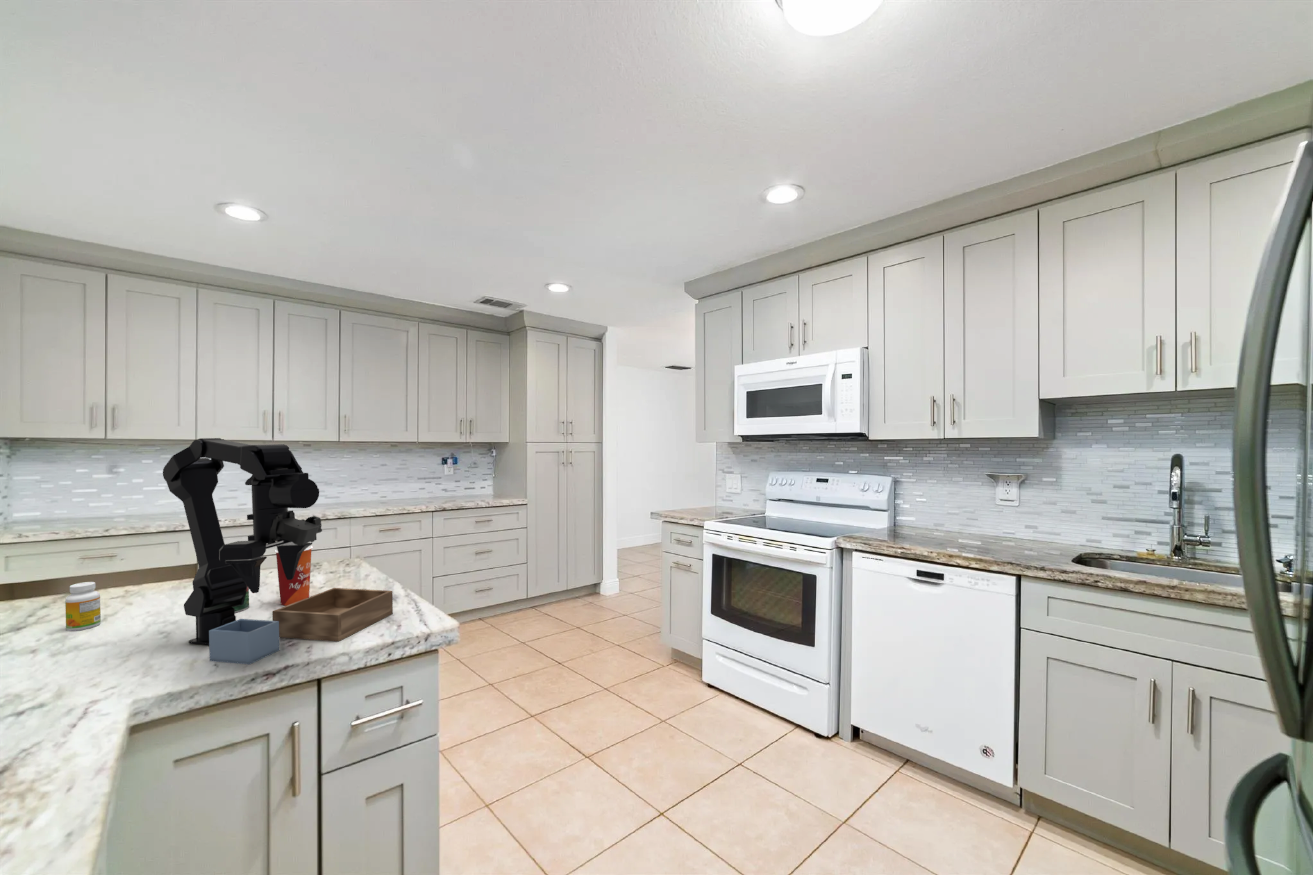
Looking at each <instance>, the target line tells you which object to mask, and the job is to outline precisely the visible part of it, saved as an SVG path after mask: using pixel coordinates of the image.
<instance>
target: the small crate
mask: <svg viewBox="0 0 1313 875" xmlns="http://www.w3.org/2000/svg"><path fill="white" fill-rule="evenodd" d="M208 647H209V662H216V663H217V662H219V663H228V664H229V663H230V664H240V665H241V664H242V665H243V664H244V665H251V664H254V663H255V662H257V661H259V660H262V659H263V658H266V657H269V656H270V655H272V654H275V653H277V652H279V651H280V637H279V621H273V620H267V619H264V620H263V619H250V618H239V619H236V621H233V622H231V623H228V624H225V625H223V626H220V627H217V628H215V629H212V630H209V645H208Z"/></svg>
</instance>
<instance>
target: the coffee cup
mask: <svg viewBox="0 0 1313 875" xmlns="http://www.w3.org/2000/svg"><path fill="white" fill-rule="evenodd" d="M308 543H312V542H308ZM278 546H279V545H278ZM275 547H276V548H275V550H274V553H275V557H276V566H277V579H278V591H279V599H280V605H281V606H283V607H285V606H287V605H290V604H293V603H295V602H298V601H300V600H303V599H306V598H308V597H310V586H311V568H312V567H311V566H312V565H311V564H312V549H313V548H314V546H313V545H310V546H309V547H307V548H306V549H305V550H304V551H303V552H302V554H301V557H300V559H299V562H298V565H297V569H296V572H295V575H294V578H293V579H292V580H287V579H286V576H285V573H284V570H283V567H282V563H281V560H280V556H279V553H278V549H277V546H275Z"/></svg>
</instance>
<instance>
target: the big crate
mask: <svg viewBox="0 0 1313 875" xmlns="http://www.w3.org/2000/svg"><path fill="white" fill-rule="evenodd" d="M393 599H394V598H393V590H384V589H383V590H382V589H381V590H380V589H366V588H365V589H364V588H363V589H362V588H347V587H346V588H345V587H342V588H341V587H332V588H329V589H327V590H325V591H322V592H319V593H317V594H314V595H311V596H309V597H308V598H306V599H303V600H300V601H298V602H295V603H293V604H290V605H287V606H283V607H279V608H277V609H274V610H272V611H271V612H272V621H279V638H285V639H297V640H310V641H311V640H313V641H314V640H315V641H327V642H341V641H342V640H344V639H346V638H349V637H350V636H351V635H354V634H356V633H358V632H360V631H362V630H363V629H366V628H367V627H370V626H372V625H374V624H376V623H377V622H379V621H381V620H384V619H385V618H387V617H390V616H391V615H393V613H394V609H393V608H394V606H393V604H394V603H393V602H394V601H393Z"/></svg>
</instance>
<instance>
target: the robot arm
mask: <svg viewBox="0 0 1313 875" xmlns="http://www.w3.org/2000/svg"><path fill="white" fill-rule="evenodd" d="M224 462H225V463H226V462H227V463H230V464H231V463H232V464H235V465H236V464H237V465H239V468H240V469H241V470H242V471H244V472H246V473H248V474H250V475H251V476H250V477H249V478H247V480H245V481H244V485H245V486H251V507H252V513H250V514H246V520H247V521H252V529H253V533H252V534H251V535H247V540H237V541H234V542H233V541H232V542H230V543H229V542H228V543H225V540H224V537H223V531H222V528H221V524H220V520H219V517H218V513H217V509H216V505H215V501H214V497H213V496H214V495H213V494H214V491H215V489H216V487H217V485H218V484H219V478H218V474H220V472H221V471H222V469H224V467H225V463H224ZM162 477H163V479H164V482H165V483H166V485H167V488H168V491H169V492H170V493H171V494H173V495H174V496H175V497H176V498H177V499H178V500H180V501H181V502H182V504H183V508H184V512H185V516H186V521H187V524H188V527H189V532H190V536H191V540H192V544H193V548H194V551H195V552H194V553H195V555H196V556H195V557H196V559H197V563H198V564H197V565H198V569H197V571H196V574H194V575H195V576H194V577H193V580H192V592H191V594H190V595H189V596H188V598H187V599H186V600H185V602H184V604H183V609H184V613H185V615H186V616H191V617H195V638H192V639H190V640H188V644H192V645H193V644H195V645H206V646H207V645H208V646H209V630H212V629H215V628H217V627H220V626H223V625H225V624H228V623H231V622H233V621H236V620H237V616H236V613H235V608H233V607H235V606H239V605H243V604H244V600H245V596H246V592H247V587H248V588H249V592H251V594H257V593H259V591H260V586H261V565H262V564H263V563H264V561H266V559H267V558H268V556H264V555H265V553H266V552H267V549H270V548H275V547H277V549H278V553H279V556H280V560H281V563H282V567H283V570H284V573H285V576H286V579H287V580H292V579H293V578H294V575H295V572H296V569H297V565H298V562H299V559H300V557H301V554H302V552H303V551H304V550H305V549H306V548H307V547H309V546H310V545H311V546H313V543H314V542H315V541H317V534H320V533H321V532H323V529H322V520H321V517H319V516H316V515H313V516H309V517H307V518H306V519H304V518H303V519H298V518H296V515H295V512H294V510H293V509H308V508H310V507H313V506H314V505H315V504H316V503H317V501H318V499H319V497H320V488H319V487H318V485H317V483H316V482H315V481H314V480H312V479H310V478H309V472H304V471H303V469H302V467H301V465H300V463H298V461H297V459H296V457H295V456H294V454H293V452H292V451H291V450H290V447H289V446H288V445H287V444H285V443H279V444H278V443H277V444H276V443H275V444H273V443H272V444H248V443H247V444H246V443H244V442H243V443H242V442H237V441H230V440H226V439H224V438H223V439H222V438H220V437H213V438H212V437H211V438H210V437H203V438H198V439H194V440H193V441H192V442H191V444H190V445H189V446H187V447H185V448H184V449H183V450H181V451H179V452H176V453H175V454H173V455H172V456H171V457H170V459H169V460H168V462H167V463H166V464H165V465H164V467H163V468H162ZM289 509H292V510H289ZM308 542H311V543H308ZM278 545H279V546H278Z"/></svg>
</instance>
